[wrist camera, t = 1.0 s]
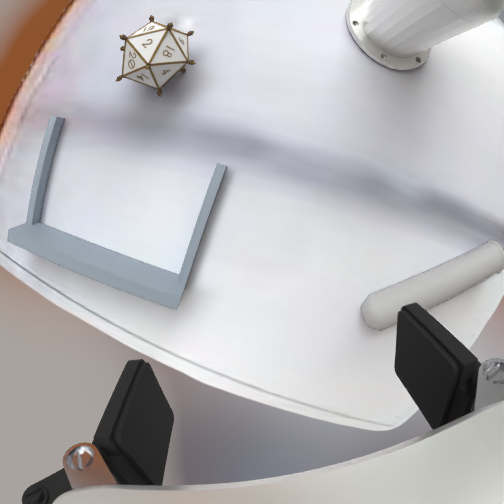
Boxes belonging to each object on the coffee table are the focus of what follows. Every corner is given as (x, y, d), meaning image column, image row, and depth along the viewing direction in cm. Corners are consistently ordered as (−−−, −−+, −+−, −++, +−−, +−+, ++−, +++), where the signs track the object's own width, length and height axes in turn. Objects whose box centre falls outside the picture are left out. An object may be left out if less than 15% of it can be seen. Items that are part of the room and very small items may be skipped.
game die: (176, 84, 34) (168, 120, 28) (116, 63, 30) (91, 94, 24) (211, 26, 28) (211, 45, 22) (146, 1, 24) (125, 12, 18)
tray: (58, 117, 30) (33, 111, 24) (226, 166, 34) (225, 166, 28) (32, 230, 34) (7, 241, 28) (184, 288, 37) (176, 310, 32)
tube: (370, 343, 37) (501, 278, 36) (371, 318, 34) (509, 252, 33) (356, 316, 41) (482, 259, 40) (354, 290, 38) (488, 233, 37)
